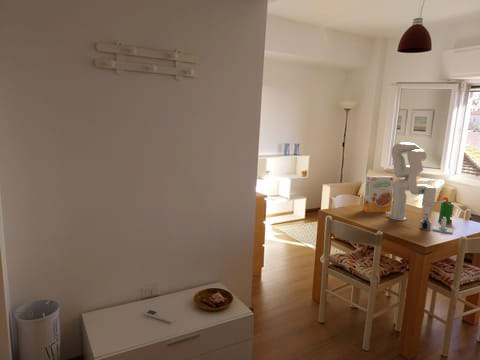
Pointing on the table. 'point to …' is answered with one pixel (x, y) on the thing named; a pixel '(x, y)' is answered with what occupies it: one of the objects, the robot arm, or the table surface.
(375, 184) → the cereal box
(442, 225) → the shaft block
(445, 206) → the green toy figure
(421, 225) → the hub
